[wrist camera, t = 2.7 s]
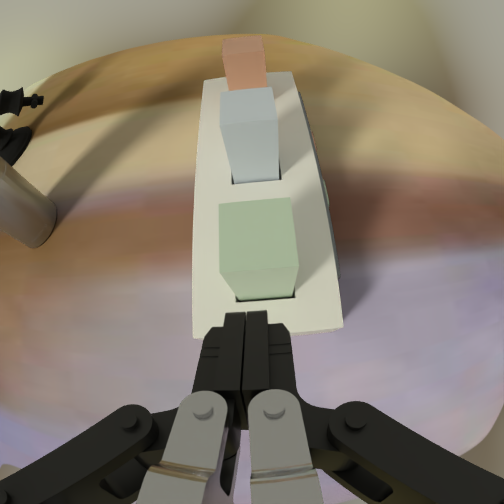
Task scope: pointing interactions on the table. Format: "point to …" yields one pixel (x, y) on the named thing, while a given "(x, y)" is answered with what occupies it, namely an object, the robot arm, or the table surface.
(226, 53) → the key terracotta
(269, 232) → the key sage
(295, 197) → the white flat bar
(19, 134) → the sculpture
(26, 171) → the table surface
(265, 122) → the key grey
